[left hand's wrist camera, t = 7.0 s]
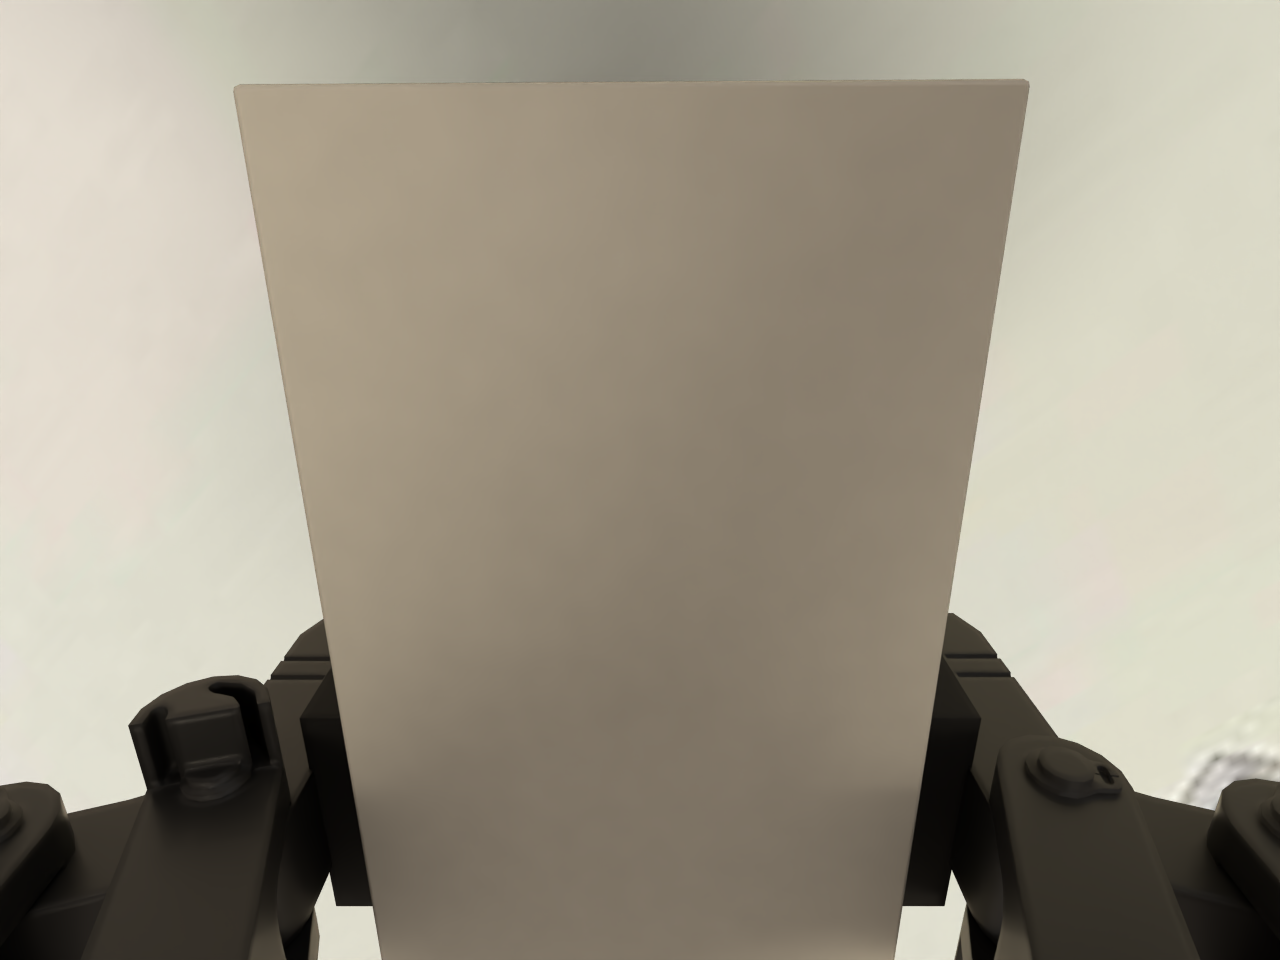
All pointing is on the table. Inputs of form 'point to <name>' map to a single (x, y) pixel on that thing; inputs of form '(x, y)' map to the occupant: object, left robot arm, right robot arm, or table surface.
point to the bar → (634, 488)
